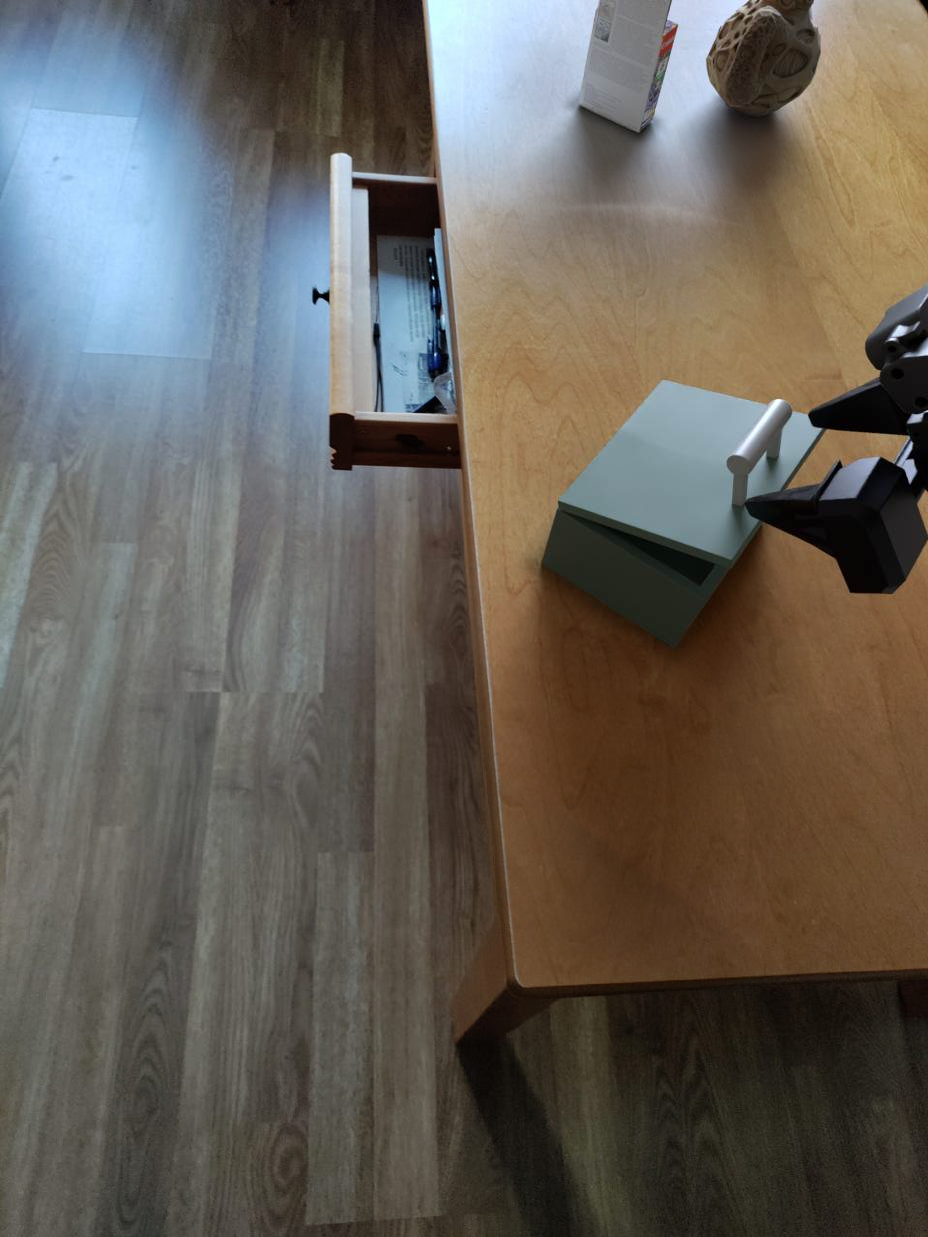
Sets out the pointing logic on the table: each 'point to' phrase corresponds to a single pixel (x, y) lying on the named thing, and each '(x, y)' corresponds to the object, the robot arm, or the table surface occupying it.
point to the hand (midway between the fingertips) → (780, 461)
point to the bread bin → (632, 574)
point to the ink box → (627, 60)
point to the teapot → (765, 55)
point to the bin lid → (693, 469)
